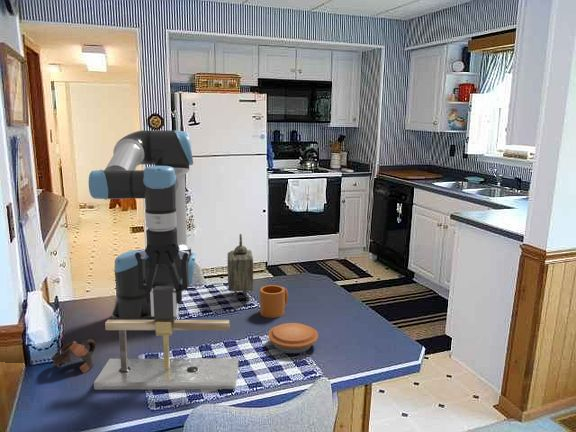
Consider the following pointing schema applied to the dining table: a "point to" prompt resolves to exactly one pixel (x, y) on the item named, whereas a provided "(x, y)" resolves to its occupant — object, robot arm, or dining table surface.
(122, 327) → the bar
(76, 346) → the broken clay pot
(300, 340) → the pie
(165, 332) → the block
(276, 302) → the mug
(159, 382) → the hole plate
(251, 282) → the tabletop clock
